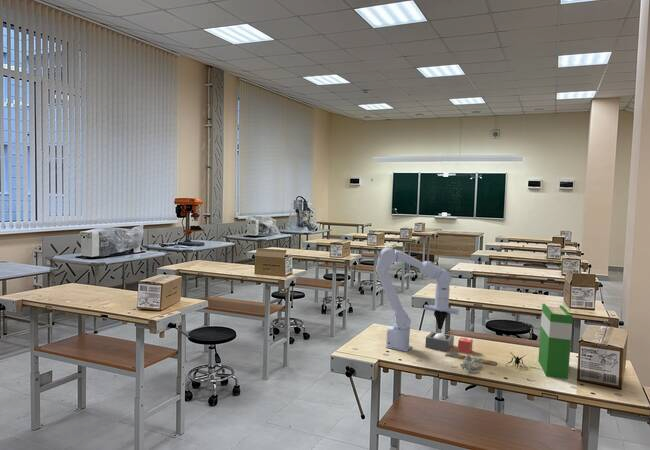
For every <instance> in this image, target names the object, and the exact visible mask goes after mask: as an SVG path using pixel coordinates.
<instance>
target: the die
mask: <svg viewBox="0 0 650 450" xmlns="http://www.w3.org/2000/svg"><path fill="white" fill-rule="evenodd" d="M473 341H474V340H473V339H471V338H467V337H466V338H465V337H460V338H459V339H458V342H457V343H458V344H457V352H458V353H464V354H467V355H468V354H471V353H472V351H473Z"/></svg>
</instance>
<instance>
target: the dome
mask: <svg viewBox="0 0 650 450" xmlns="http://www.w3.org/2000/svg"><path fill="white" fill-rule="evenodd" d="M436 333H437V334H436V335H435V336H434V338H438V339H443V340H447V339H446V336H445V335H444V334H445V333H442V332H436Z"/></svg>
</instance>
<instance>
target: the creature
mask: <svg viewBox="0 0 650 450" xmlns="http://www.w3.org/2000/svg"><path fill="white" fill-rule="evenodd" d="M509 353H510V354H511V355H512V356H513V357H511V361H509V362H507V363H506V364H505V366H507V365H509V364H511V363H512V365H511V367H516V369H518V368H519V365H523V366H524V367H526V365H525V364H524V362H523V358H525V357H526V356H527V355H526V354H525V355H523V356H522V357H520V356H515V354H513V353H512V352H509ZM514 359H515V360H514ZM513 360H514V361H513ZM516 365H517V366H516ZM526 370H528V367H526Z"/></svg>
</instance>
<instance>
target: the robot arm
mask: <svg viewBox="0 0 650 450" xmlns="http://www.w3.org/2000/svg"><path fill="white" fill-rule="evenodd" d="M377 258H378V259H377V262H376V263H377V264H376V266H375V267H376V268H375V271H376V274H377V275H376V276H377V277H378V280H379V281H380V284H381V287H382V289H383V291H384V293H385V296H386V298H387V300H388V303H389V305H390V307H391V311H392V312H393V320H394V323H393V325H389V326H388V327H387V330H386V331H387V332H386V343H385V344H386V345H385V348H386V349H387V348H388V349H392V350H397V351H403V352H407V351H409V350H410V349H411V348H412V346H413V345H410V334H411V321H412V320H411V317H409V314H408V312H407V311H406V310H404V308H403V305H402V303H401V301H400V298H399V296H398V292H397V291H396V289H395V287H394V284H393V282H392V279H391V277H390V275H389V270H390V268H391V266H392V265H393V264H394V263H395V262H396V263H400V262H401V263H402V262H403V263H405V264H407V265H410V266H412V267H414V268H417V269H419V272H420V274H421V275H424V276H426V277H428V278H430V279H432V280H436V281H435V284H436V286H435V295H434V305H432V304H424V305H423V310H425V311H431V312H433V316H434V317H435V320H436V324H437V329H438V330H442V329H443V327H444V323H445V321H446V319H447V316H448V315H449V314H451V315H456V316H459V314H460V309H459V308H458V309H456V308H452V307H449V301H450V283H451V282H452V279H453V277H452V275H451V273H450V272H449V271H448V270H446V269H445V268H443V267H442V266H438V265H435V264H433V262H432V261H430V260H428V261H427V260H425V261H423V262H422V261H420V260H419V259H417V258H415V257H413V256H411V255H409V254H408V253H405V252H404V251H401V250H398V249H395V248H394V249H393V248H392V247H389V246H386V247H383V248H382V249H381V251H380V252H379V253H378V255H377Z"/></svg>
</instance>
